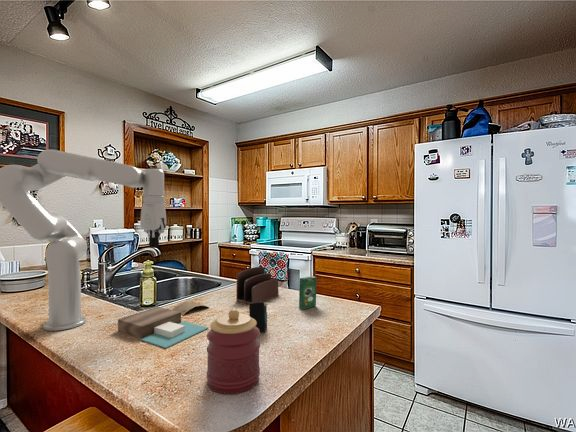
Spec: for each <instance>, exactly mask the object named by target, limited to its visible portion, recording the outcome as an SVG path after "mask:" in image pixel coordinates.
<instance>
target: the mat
mask: <svg viewBox="0 0 576 432" xmlns="http://www.w3.org/2000/svg"><path fill="white" fill-rule="evenodd" d="M179 324H180V325H184V326H185V332H183V333H181V334H179V335H176V336H174V337H172V338H169V337H166V336H162V335H159V334H155V333H154V334H152V335H149V336H147V337H144V338H142V339H141V338H139V339H140V341H141V342H145V343H147V344H151V345H154V346H157V347H159V348H163V349H165V350H166V349H168V348H171V347H172V346H175V345H176V344H179V343H181V342H183V341H185V340H187V339H189V338H191V337H194V336H196V335H198V334H200V333H202V332H204V331H206V330H208V329H209V327H207V326H203V325H200V324H196V323H193V322H188V321H185V320H184V321H181V323H179Z"/></svg>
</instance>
